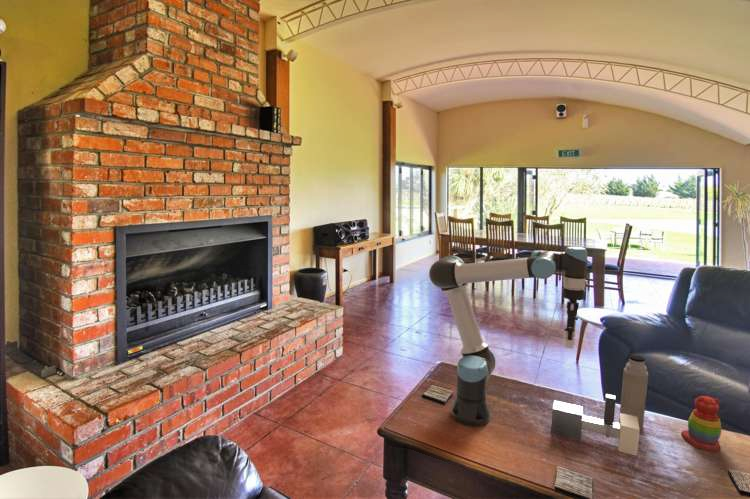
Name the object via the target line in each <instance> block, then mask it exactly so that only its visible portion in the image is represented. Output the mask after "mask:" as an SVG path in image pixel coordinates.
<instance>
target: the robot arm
mask: <svg viewBox="0 0 750 499" xmlns="http://www.w3.org/2000/svg"><path fill="white" fill-rule="evenodd" d="M564 250H565V251H553V250H551V251H550V250H542V249H541V250H533V251H532V252H531V255H530V257H520V258H510V259H502V260H501V259H500V260H499V259H498V260H492V261H491V260H490V261H482V262H472V263H465V262H464V261H463V260H462V259H461V258H460V257H459V256H455V255H447V256H445V257H442V258H441V259H439V260H437V261H435V262H434V263H433V264H432V265H431V266H430V268H429V272H428V276H429V279H430V282H431V283H432V285H434V286H436V287H437V288H439V289H441V292H443V293H444V294H446V296H447V300H448V303H449V306H450V310H451V312H452V316H453V319H454V321H455V325H456V328H457V332H458V334H459V337H460V341H461V344H462V348H461V351H460V353H461V356H462V357H461V358H460V359H458V362H457V366H456V394H455V395H456V397H455V399H454V402H453V404H452V406H451V416H452V418H453V420H455V421H456V422H457V423H459V424H461V425H465V426H468V427H480V426H484V425H486V424H488V422H490V418H491V412H490V408H489V404H488V401H487V386H488V385H487V384H488V381H489V379H490V378H491V375H492V373H493V372H494V371H495V367H496V356H495V355H494V352H492V350H491V349H489V348H490V347H489V345H488V343H487V342H485V341H483V338H482V336H481V331H480V328H479V325H478V322H477V319H476V316H475V313H474V310H473V309H474V308H473V305H472V304H471V301H470V298H469V294H468V290H467V286H468V284H472V283H473V284H474V283H475V284H476V283H482V282H483V283H484V282H485V283H486V282H498V281H508V280H509V281H510V280H520V279H532V278H533V279H534V278H535V279H536V278H538V279H540V280H546V279H548V278H550V277H552V276H553V275H554V274H555V272H563V281H562V287H563V288H562V297H563V298H564V299H566V300H569V301H566V302H567V303H566V308H567V309H566V314H567V320H566V328H564V330H563V331H564V332H565V333H566V334H565V345H564V346H565V348H567V349H574V344H575V343H574V342H575V337H576V324H577V321H578V319H579V318H578V317H577V316H578V310H579V307H580V306H579V302H578V301H582V300H584V299H585V294H586V289H585V288H586V284H587V283H588V280H586V279H587V278H586V277H587V269H588V250H587V248H585V247H581V246H567V247H566V248H565V249H564Z"/></svg>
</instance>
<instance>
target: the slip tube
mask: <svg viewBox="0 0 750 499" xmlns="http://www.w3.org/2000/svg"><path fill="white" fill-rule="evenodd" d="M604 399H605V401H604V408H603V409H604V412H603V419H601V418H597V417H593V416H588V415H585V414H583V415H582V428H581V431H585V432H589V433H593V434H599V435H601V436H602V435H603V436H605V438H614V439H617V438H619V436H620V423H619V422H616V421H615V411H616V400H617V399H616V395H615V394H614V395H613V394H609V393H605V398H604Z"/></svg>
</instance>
